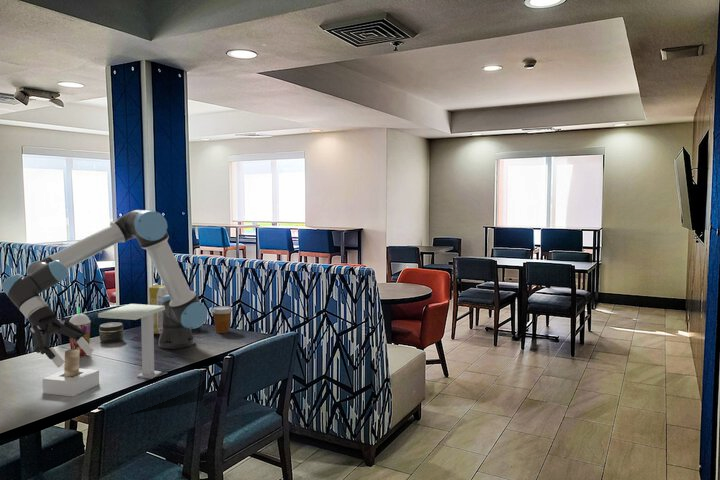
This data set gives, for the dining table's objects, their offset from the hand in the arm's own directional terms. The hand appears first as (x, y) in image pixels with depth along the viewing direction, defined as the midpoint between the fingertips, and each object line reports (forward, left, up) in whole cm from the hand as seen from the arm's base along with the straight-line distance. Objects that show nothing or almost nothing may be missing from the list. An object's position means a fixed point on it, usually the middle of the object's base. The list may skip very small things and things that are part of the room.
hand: (76, 358), depth 177 cm
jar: (-18, -61, -11) cm, 64 cm away
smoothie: (-4, -45, -11) cm, 46 cm away
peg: (+2, -2, -10) cm, 10 cm away
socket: (+2, -2, -11) cm, 11 cm away
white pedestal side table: (-20, -6, -11) cm, 23 cm away
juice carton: (-40, -67, -11) cm, 79 cm away
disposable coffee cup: (-67, -52, -11) cm, 86 cm away
